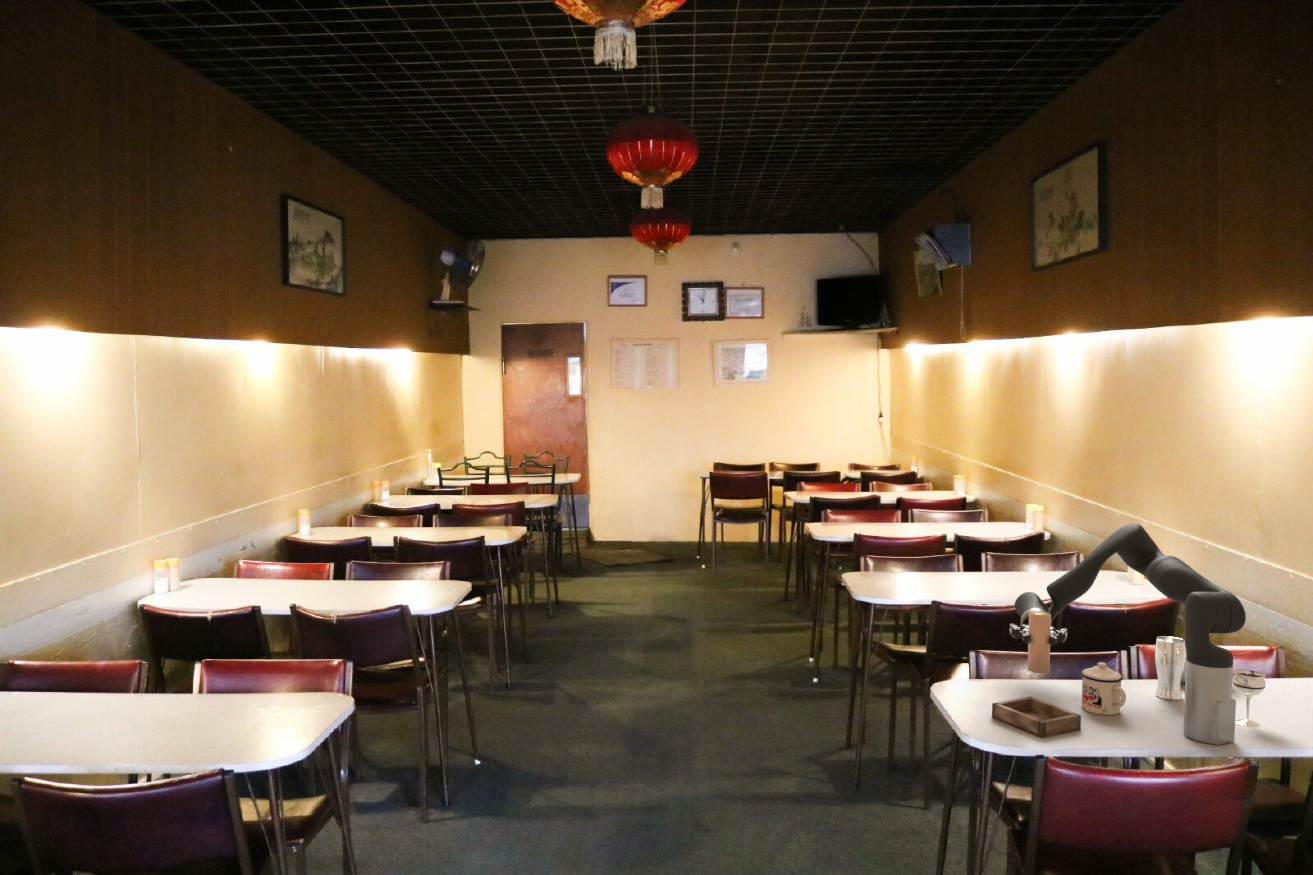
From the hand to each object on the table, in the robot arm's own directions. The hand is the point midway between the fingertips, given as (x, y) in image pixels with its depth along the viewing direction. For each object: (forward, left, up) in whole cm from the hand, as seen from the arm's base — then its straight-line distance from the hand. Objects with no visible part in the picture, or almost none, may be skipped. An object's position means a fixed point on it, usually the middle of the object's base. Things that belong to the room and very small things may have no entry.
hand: (1040, 640), depth 234 cm
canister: (+2, -2, -8) cm, 8 cm away
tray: (-5, +7, -18) cm, 20 cm away
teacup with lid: (-6, -16, -18) cm, 25 cm away
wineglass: (-26, -40, -18) cm, 51 cm away
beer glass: (-5, -41, -18) cm, 45 cm away
